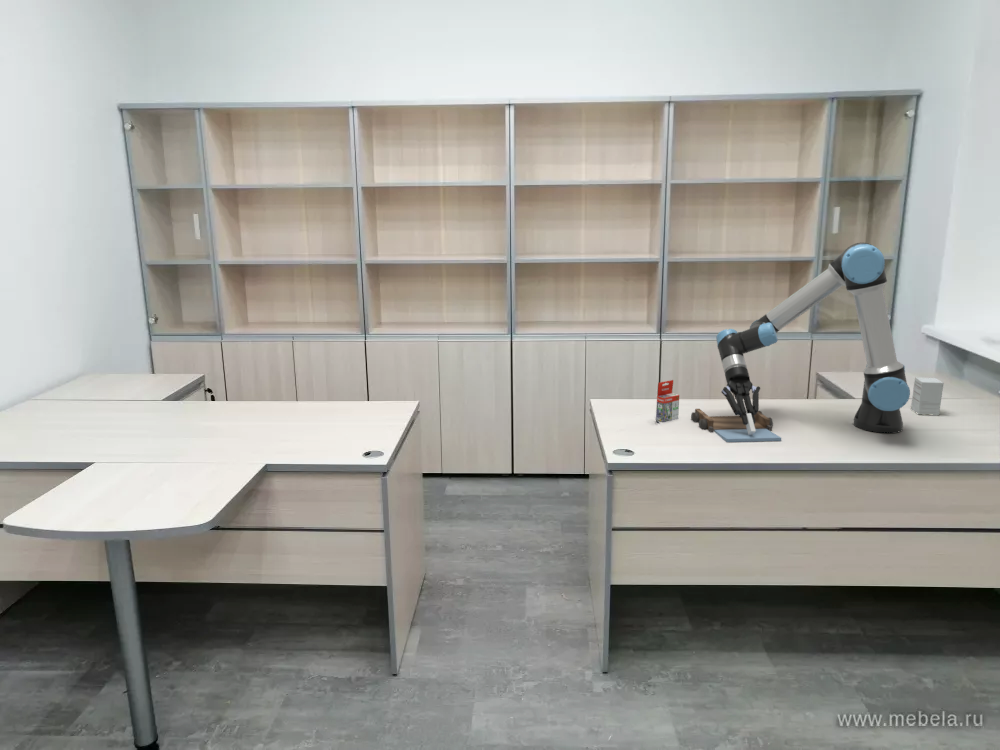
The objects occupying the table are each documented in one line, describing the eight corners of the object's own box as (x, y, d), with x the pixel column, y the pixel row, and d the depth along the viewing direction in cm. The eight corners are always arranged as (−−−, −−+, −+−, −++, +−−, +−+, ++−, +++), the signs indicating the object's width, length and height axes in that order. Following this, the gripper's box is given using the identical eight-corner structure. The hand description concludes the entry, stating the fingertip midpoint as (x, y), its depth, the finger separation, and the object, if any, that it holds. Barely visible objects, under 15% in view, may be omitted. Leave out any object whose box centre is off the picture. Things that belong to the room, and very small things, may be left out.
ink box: (678, 421, 254) (681, 381, 250) (662, 425, 249) (665, 384, 246) (670, 418, 257) (673, 379, 253) (655, 422, 252) (657, 382, 249)
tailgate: (713, 429, 240) (727, 438, 228) (765, 427, 241) (781, 437, 230) (713, 432, 240) (726, 442, 229) (765, 431, 242) (781, 441, 230)
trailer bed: (689, 420, 254) (690, 408, 253) (756, 419, 256) (757, 407, 255) (705, 435, 239) (706, 422, 238) (776, 433, 240) (777, 420, 239)
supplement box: (931, 410, 267) (936, 377, 264) (939, 416, 260) (944, 382, 257) (909, 409, 268) (914, 376, 265) (917, 415, 261) (922, 381, 258)
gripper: (750, 376, 247) (767, 437, 234) (713, 377, 246) (728, 438, 234) (758, 364, 240) (776, 427, 228) (720, 365, 239) (736, 428, 227)
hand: (752, 432), depth 231 cm, fingers closed
